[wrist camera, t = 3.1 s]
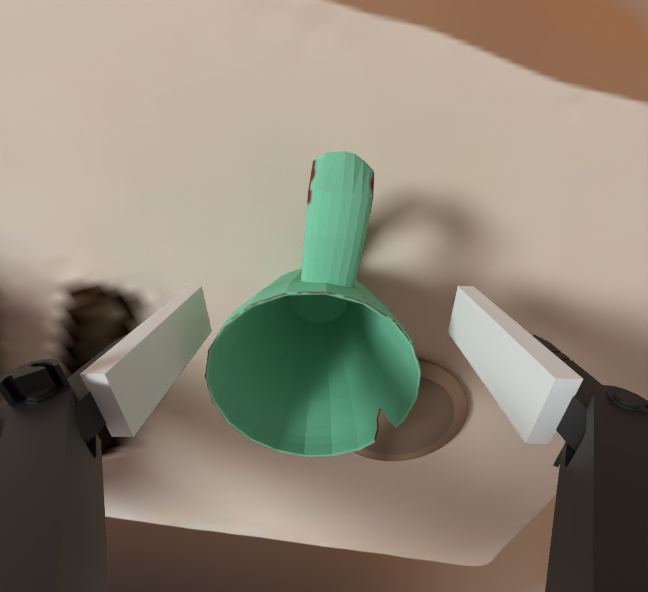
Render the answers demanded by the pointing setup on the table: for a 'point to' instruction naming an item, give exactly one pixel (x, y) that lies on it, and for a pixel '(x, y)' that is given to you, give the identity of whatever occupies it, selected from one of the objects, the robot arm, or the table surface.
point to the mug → (317, 336)
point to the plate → (423, 419)
